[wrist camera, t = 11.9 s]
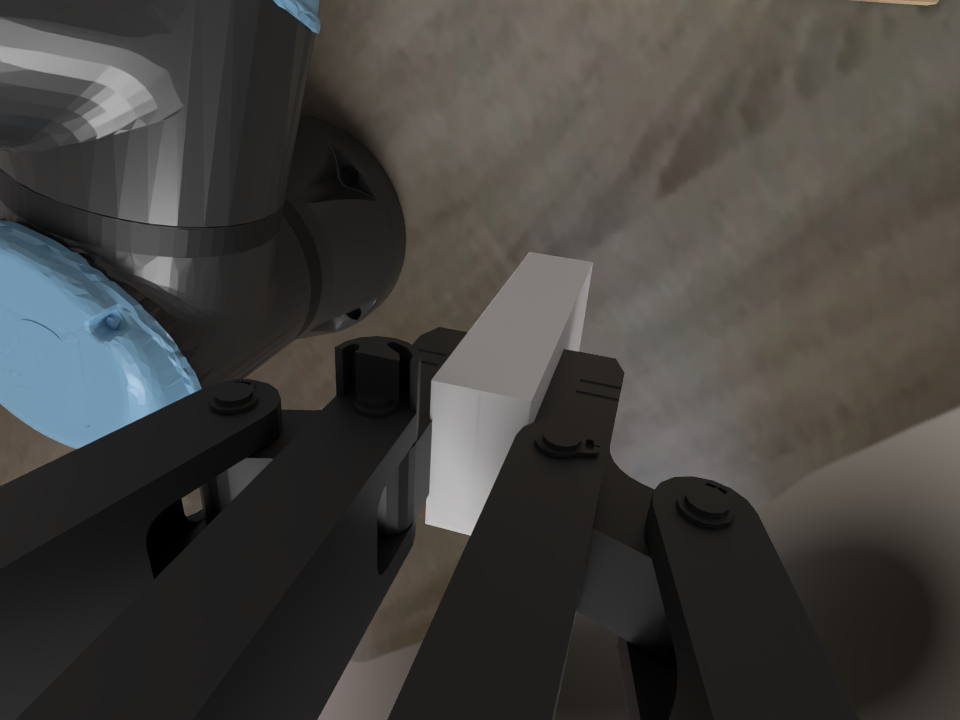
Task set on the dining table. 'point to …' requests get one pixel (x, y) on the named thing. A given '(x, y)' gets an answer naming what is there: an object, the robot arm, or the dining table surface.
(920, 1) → the plank
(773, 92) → the dining table surface
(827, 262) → the dining table surface
